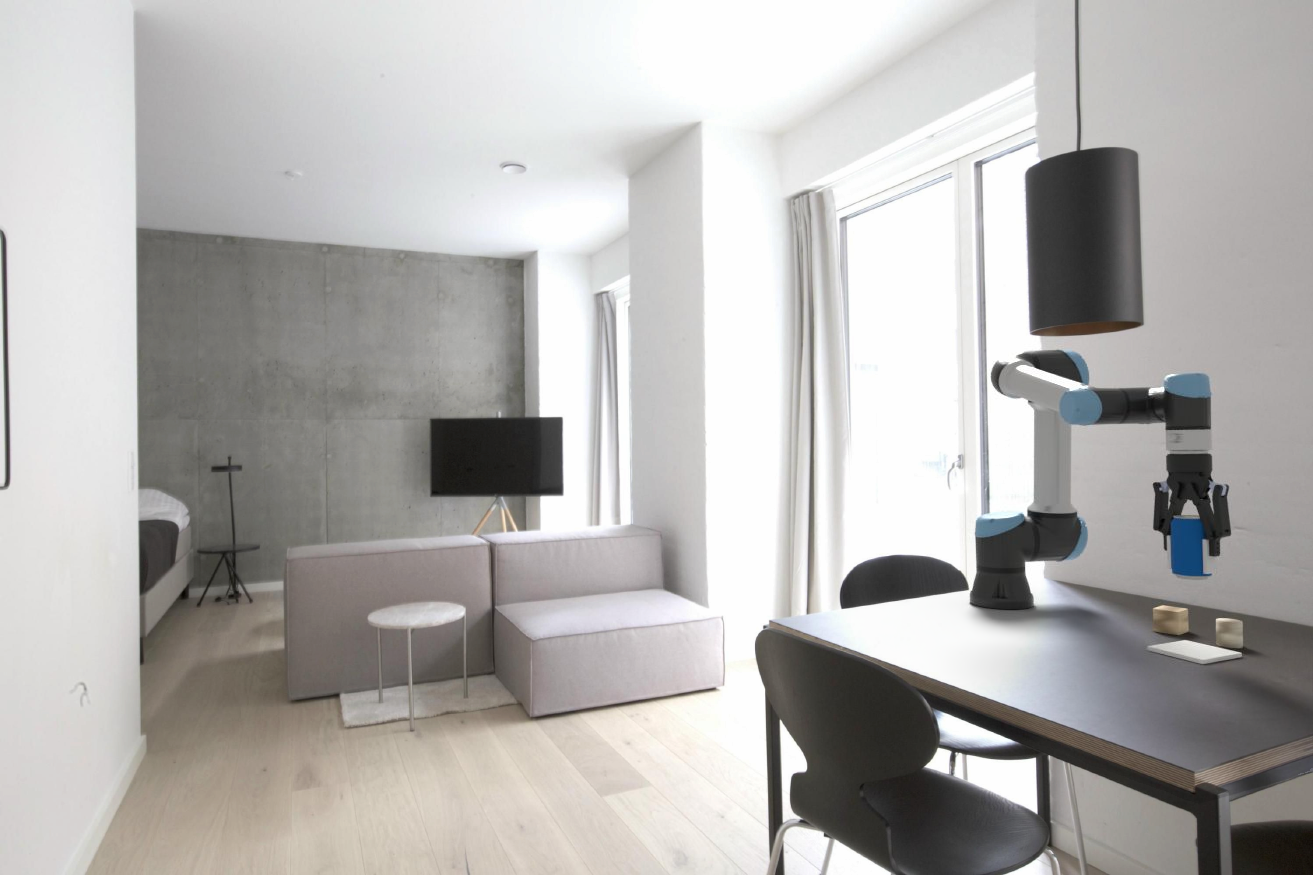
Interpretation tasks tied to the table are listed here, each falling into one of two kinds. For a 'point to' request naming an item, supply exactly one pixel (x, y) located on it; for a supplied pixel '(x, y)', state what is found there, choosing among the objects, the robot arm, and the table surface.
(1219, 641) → the birch cylinder
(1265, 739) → the table surface
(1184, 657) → the pad
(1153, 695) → the table surface
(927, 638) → the table surface
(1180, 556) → the beverage can
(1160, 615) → the oak cube
